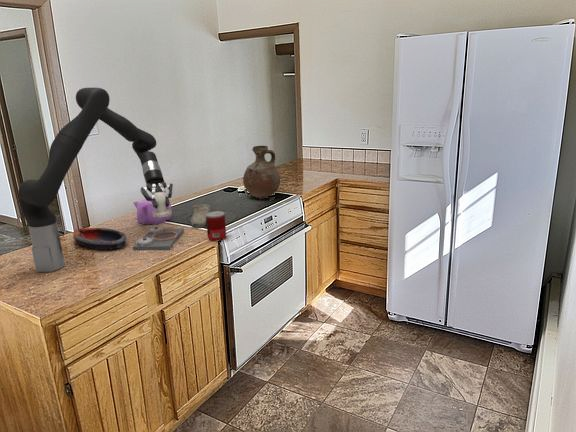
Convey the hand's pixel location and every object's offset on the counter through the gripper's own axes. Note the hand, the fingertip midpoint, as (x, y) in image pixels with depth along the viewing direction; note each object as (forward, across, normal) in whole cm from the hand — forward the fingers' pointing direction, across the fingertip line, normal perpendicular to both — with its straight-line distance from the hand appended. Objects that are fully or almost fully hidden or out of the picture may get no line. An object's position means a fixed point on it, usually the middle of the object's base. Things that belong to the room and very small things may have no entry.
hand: (162, 206), depth 183 cm
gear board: (+9, -2, +13) cm, 16 cm away
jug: (-22, +68, +44) cm, 84 cm away
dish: (+1, -25, +21) cm, 33 cm away
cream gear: (+2, 0, +4) cm, 4 cm away
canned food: (+17, +20, +6) cm, 27 cm away
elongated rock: (-7, +24, +30) cm, 39 cm away
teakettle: (-14, +3, +37) cm, 40 cm away
